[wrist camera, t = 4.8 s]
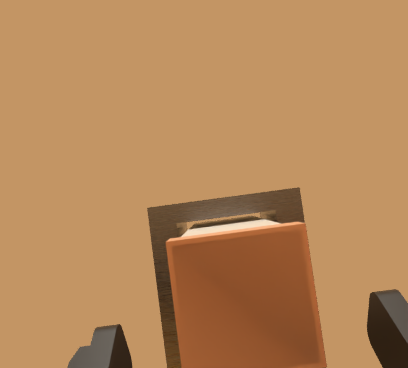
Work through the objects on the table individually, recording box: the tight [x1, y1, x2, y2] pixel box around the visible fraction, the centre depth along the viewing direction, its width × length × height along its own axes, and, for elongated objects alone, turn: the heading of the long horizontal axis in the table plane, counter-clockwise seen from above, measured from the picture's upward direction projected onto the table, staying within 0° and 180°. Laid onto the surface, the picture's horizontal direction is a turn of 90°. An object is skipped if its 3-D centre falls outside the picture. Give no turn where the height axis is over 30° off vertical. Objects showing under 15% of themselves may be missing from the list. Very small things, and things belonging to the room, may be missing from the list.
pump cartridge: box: [166, 216, 327, 368], centre depth 19 cm, size 4×15×4 cm, turn 179°
